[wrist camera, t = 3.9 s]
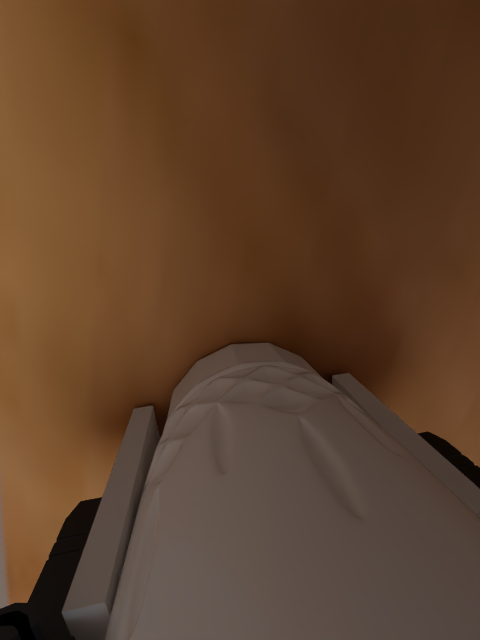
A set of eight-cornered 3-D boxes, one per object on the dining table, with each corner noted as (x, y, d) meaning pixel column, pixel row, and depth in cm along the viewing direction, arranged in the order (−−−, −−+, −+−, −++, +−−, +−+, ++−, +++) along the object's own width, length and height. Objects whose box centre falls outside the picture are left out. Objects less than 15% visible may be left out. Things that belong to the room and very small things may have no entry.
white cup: (126, 355, 11) (-292, 1091, 2) (322, 305, 12) (885, 609, 2) (183, 507, 13) (154, 1166, 4) (343, 459, 14) (654, 927, 5)
